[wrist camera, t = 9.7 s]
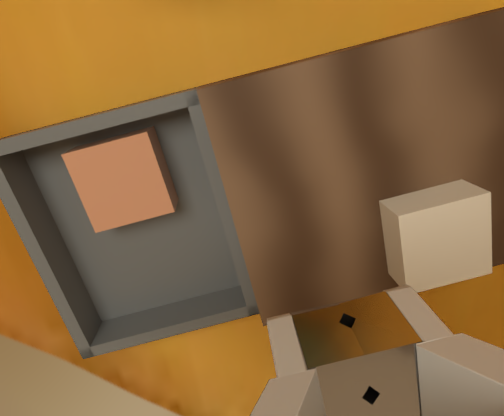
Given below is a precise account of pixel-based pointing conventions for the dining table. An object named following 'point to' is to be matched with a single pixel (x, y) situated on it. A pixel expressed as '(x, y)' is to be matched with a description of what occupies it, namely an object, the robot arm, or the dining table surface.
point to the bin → (129, 232)
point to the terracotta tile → (122, 179)
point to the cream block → (438, 235)
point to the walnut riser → (354, 153)
